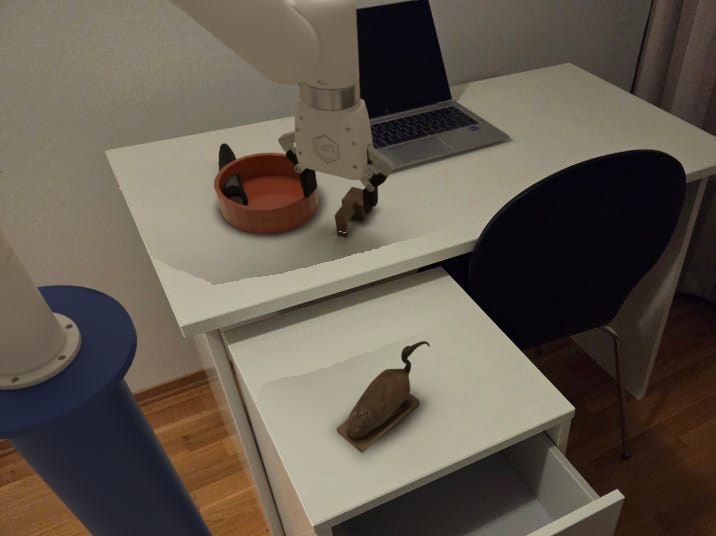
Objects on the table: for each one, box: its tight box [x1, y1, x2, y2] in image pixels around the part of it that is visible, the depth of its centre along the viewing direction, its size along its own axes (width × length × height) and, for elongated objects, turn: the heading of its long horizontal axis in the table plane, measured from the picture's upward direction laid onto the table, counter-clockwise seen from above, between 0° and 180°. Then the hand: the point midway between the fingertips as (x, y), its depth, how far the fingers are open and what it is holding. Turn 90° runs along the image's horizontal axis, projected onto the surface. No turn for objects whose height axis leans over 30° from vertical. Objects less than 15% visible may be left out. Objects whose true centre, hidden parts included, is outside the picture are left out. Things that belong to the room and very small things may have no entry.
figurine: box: [336, 340, 431, 454], centre depth 76 cm, size 14×4×9 cm, turn 141°
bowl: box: [213, 152, 320, 234], centre depth 102 cm, size 15×15×4 cm
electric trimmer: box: [218, 142, 248, 206], centre depth 105 cm, size 4×16×3 cm, turn 20°
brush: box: [334, 186, 373, 239], centre depth 100 cm, size 8×4×4 cm, turn 164°
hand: (340, 200), depth 96 cm, fingers open, 9 cm apart
